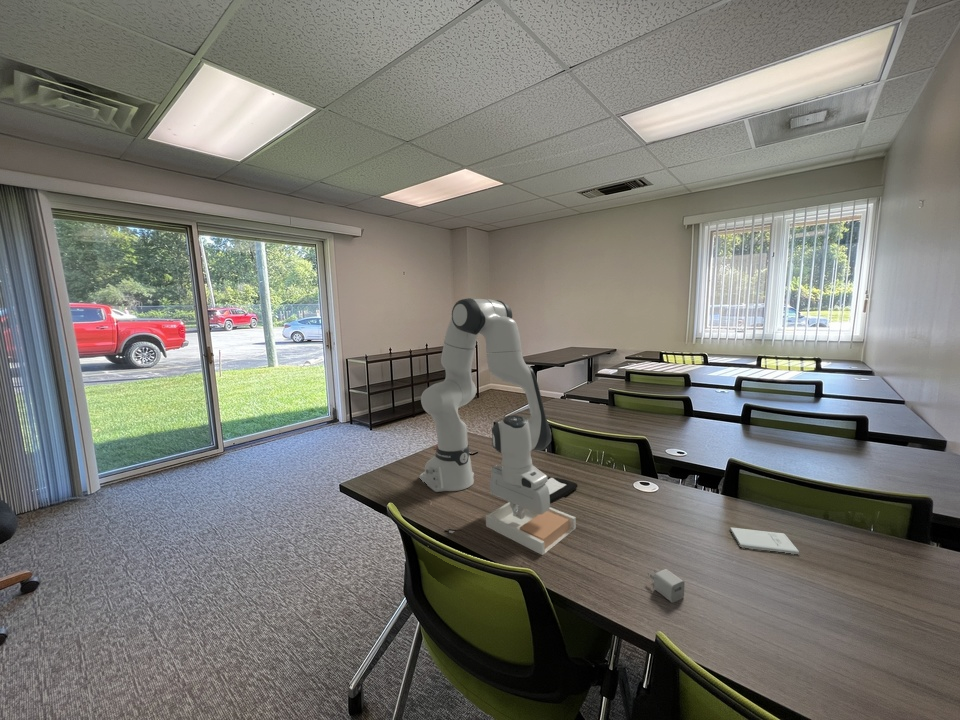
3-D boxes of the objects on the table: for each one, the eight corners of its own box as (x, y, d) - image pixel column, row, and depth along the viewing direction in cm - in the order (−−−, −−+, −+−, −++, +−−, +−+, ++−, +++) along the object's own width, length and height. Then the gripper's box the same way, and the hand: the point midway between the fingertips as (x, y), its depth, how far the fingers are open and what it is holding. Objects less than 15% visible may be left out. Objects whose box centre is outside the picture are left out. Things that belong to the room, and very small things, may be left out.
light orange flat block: (519, 537, 103) (519, 527, 103) (545, 519, 111) (545, 510, 111) (543, 549, 97) (543, 539, 97) (568, 529, 106) (568, 519, 105)
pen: (445, 531, 110) (445, 527, 110) (509, 538, 105) (509, 535, 104) (444, 533, 109) (443, 529, 109) (508, 540, 104) (508, 537, 104)
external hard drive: (729, 532, 104) (783, 538, 100) (740, 550, 96) (799, 557, 92) (729, 526, 103) (783, 532, 100) (740, 544, 96) (799, 551, 92)
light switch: (549, 472, 142) (580, 480, 131) (549, 480, 142) (581, 488, 131) (513, 490, 129) (545, 501, 118) (514, 499, 129) (546, 510, 118)
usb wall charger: (671, 603, 79) (671, 586, 78) (644, 582, 85) (644, 566, 85) (684, 597, 81) (684, 580, 80) (657, 577, 87) (657, 561, 86)
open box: (486, 528, 109) (485, 515, 109) (520, 507, 121) (520, 495, 120) (542, 558, 95) (542, 543, 95) (575, 530, 106) (575, 517, 106)
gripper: (484, 466, 114) (486, 509, 116) (538, 486, 100) (540, 534, 101) (498, 460, 118) (500, 501, 120) (552, 478, 104) (553, 524, 106)
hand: (518, 517), depth 111 cm, fingers closed
